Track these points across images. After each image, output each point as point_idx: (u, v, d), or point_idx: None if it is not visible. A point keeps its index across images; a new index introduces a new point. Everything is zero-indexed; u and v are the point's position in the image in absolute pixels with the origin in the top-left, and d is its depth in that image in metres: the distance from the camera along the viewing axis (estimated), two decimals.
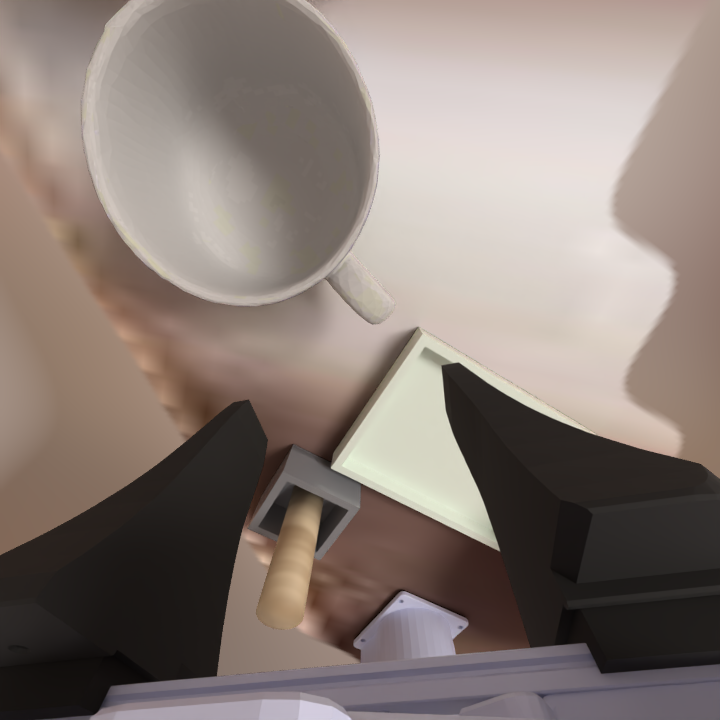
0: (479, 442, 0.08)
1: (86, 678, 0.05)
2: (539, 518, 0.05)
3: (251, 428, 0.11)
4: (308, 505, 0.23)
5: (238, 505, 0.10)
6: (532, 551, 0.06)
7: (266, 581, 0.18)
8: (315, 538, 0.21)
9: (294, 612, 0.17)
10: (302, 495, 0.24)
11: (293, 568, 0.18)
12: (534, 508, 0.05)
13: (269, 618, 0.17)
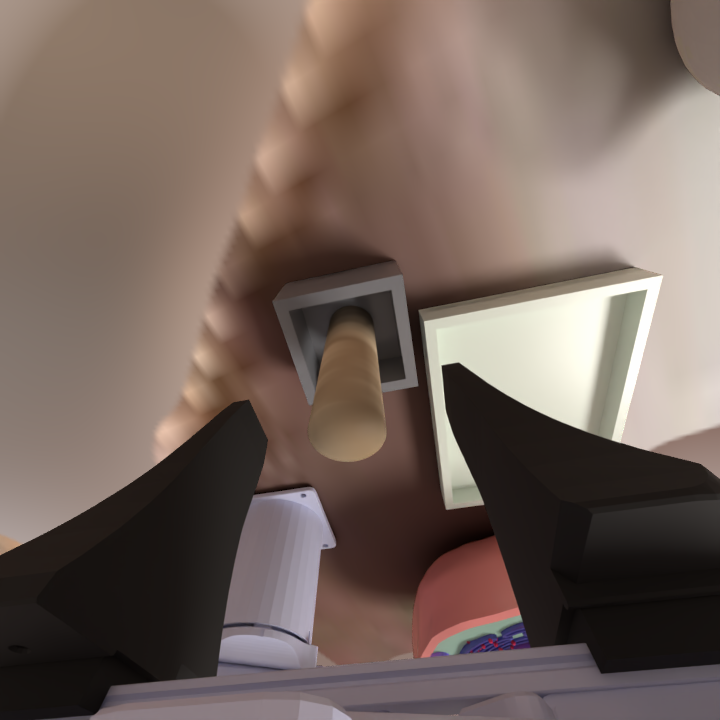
0: (479, 442, 0.08)
1: (85, 678, 0.05)
2: (539, 518, 0.05)
3: (251, 428, 0.11)
4: (374, 338, 0.16)
5: (238, 505, 0.10)
6: (532, 551, 0.06)
7: (344, 380, 0.11)
8: None
9: (368, 443, 0.11)
10: (367, 322, 0.16)
11: (380, 391, 0.12)
12: (534, 508, 0.05)
13: (326, 428, 0.10)
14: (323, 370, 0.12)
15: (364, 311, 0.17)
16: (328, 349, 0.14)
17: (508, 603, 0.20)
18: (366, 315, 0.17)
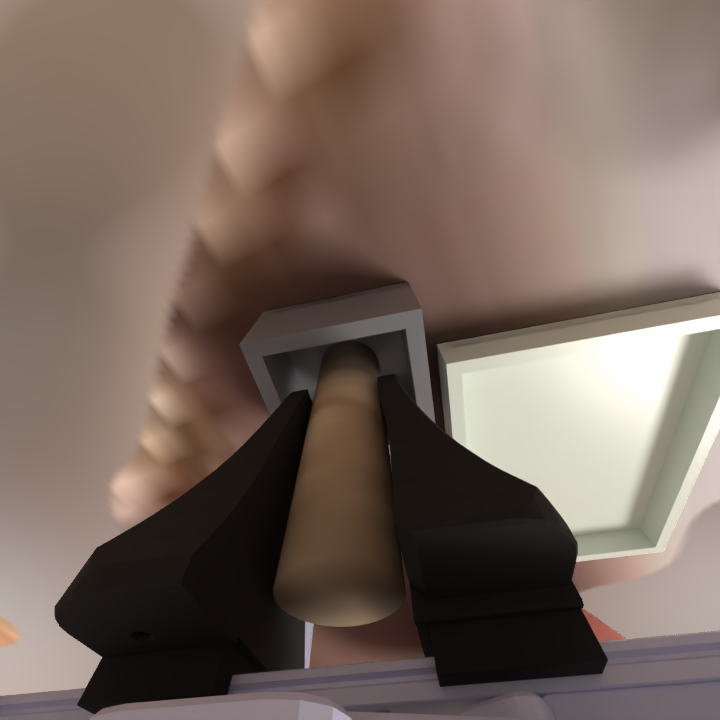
0: None
1: (213, 666, 0.05)
2: None
3: None
4: None
5: None
6: None
7: (335, 499, 0.07)
8: None
9: (375, 606, 0.06)
10: (371, 367, 0.12)
11: (393, 503, 0.07)
12: None
13: (304, 591, 0.06)
14: (305, 462, 0.08)
15: (367, 348, 0.13)
16: (315, 418, 0.10)
17: None
18: (369, 354, 0.13)
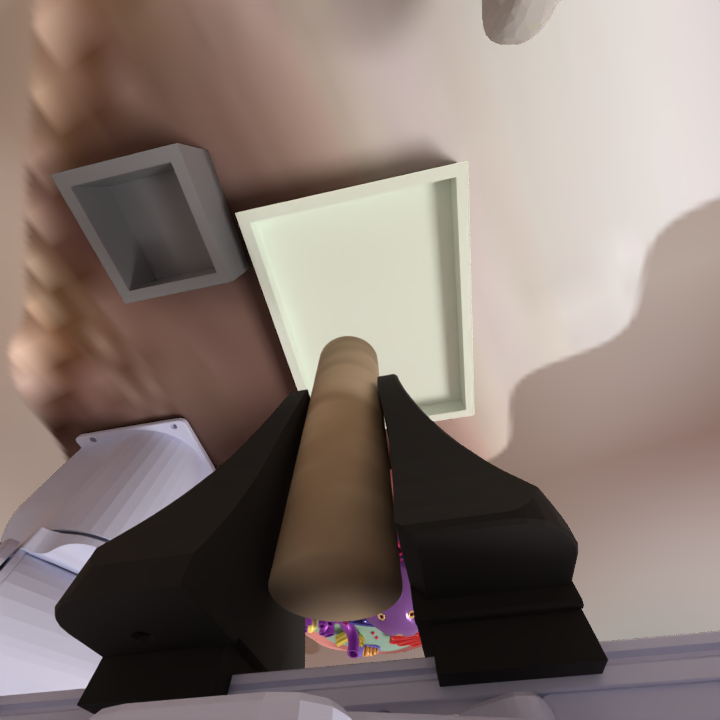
0: None
1: (213, 666, 0.05)
2: None
3: None
4: None
5: None
6: None
7: (325, 492, 0.07)
8: None
9: (373, 599, 0.06)
10: (367, 360, 0.12)
11: (388, 493, 0.07)
12: None
13: (299, 586, 0.06)
14: (299, 458, 0.08)
15: (362, 342, 0.13)
16: (310, 415, 0.09)
17: None
18: (365, 348, 0.13)
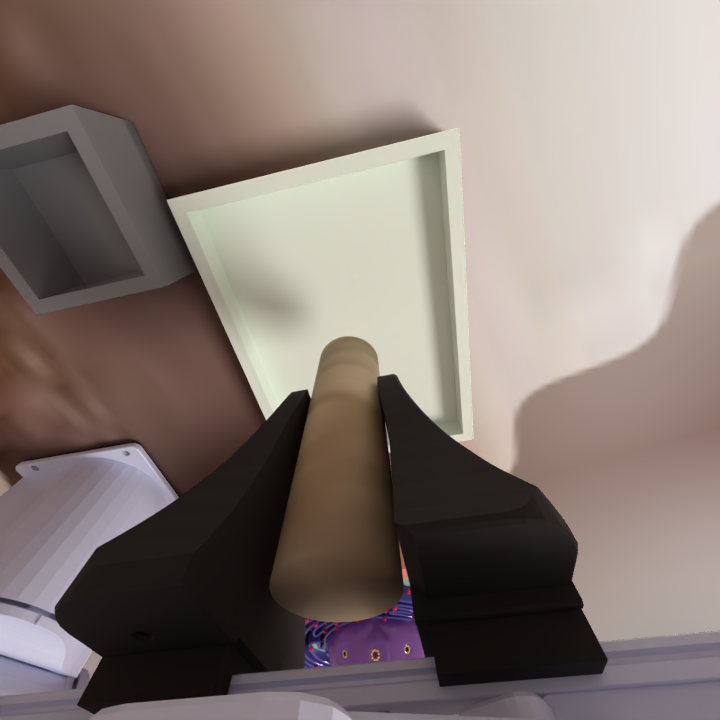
0: None
1: (213, 666, 0.05)
2: None
3: None
4: None
5: None
6: None
7: (327, 493, 0.07)
8: None
9: (375, 599, 0.06)
10: (367, 360, 0.12)
11: (389, 494, 0.07)
12: None
13: (300, 587, 0.06)
14: (300, 459, 0.08)
15: (363, 342, 0.13)
16: (311, 415, 0.09)
17: None
18: (366, 348, 0.13)
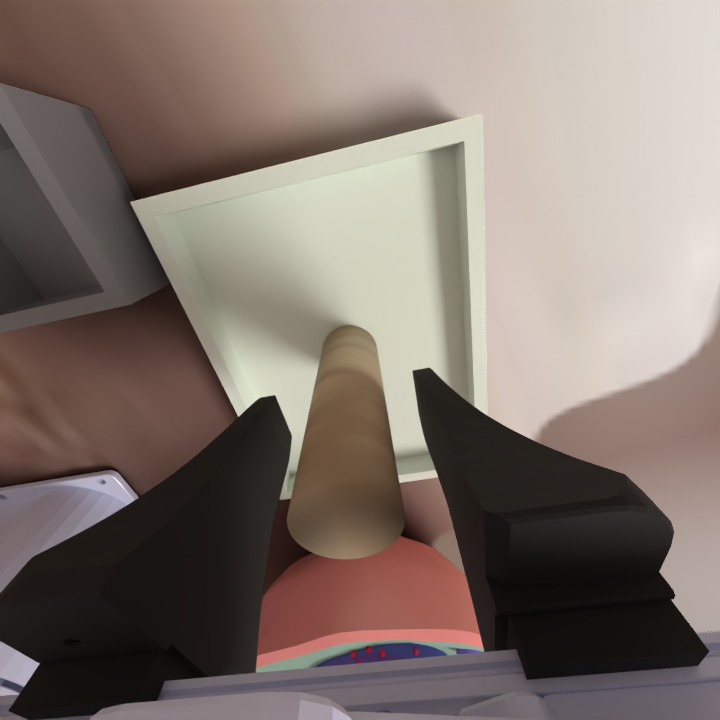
0: (440, 448, 0.08)
1: (142, 672, 0.05)
2: (476, 526, 0.05)
3: (278, 423, 0.11)
4: (378, 364, 0.12)
5: (268, 501, 0.10)
6: (475, 558, 0.06)
7: (336, 441, 0.07)
8: None
9: (379, 533, 0.07)
10: (367, 345, 0.13)
11: (390, 447, 0.08)
12: (472, 516, 0.05)
13: (314, 520, 0.07)
14: (310, 422, 0.09)
15: (363, 331, 0.14)
16: (317, 388, 0.10)
17: (316, 630, 0.14)
18: (365, 335, 0.14)
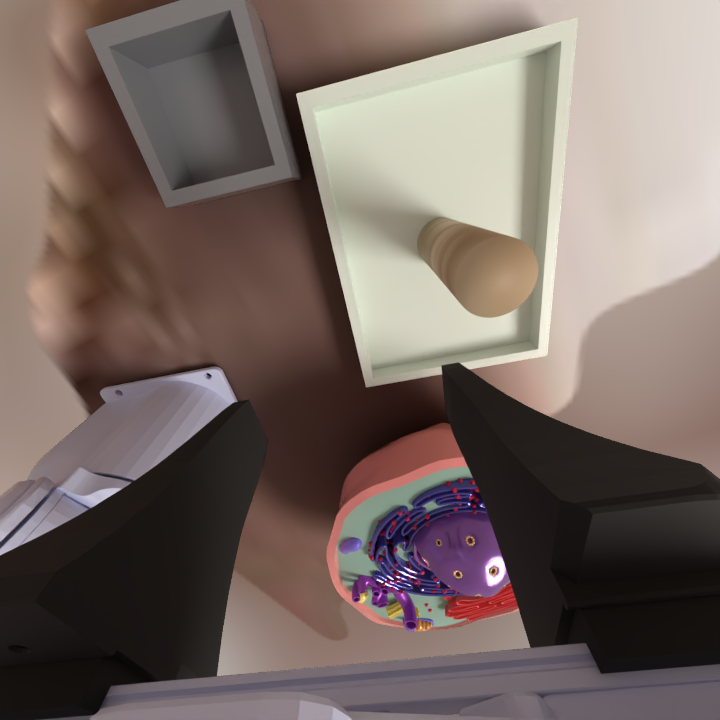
0: (479, 442, 0.08)
1: (86, 679, 0.05)
2: (539, 518, 0.05)
3: (251, 428, 0.11)
4: None
5: (238, 505, 0.10)
6: (532, 551, 0.06)
7: (483, 233, 0.11)
8: None
9: (516, 290, 0.10)
10: None
11: None
12: (534, 508, 0.05)
13: (475, 275, 0.10)
14: (447, 243, 0.12)
15: None
16: (440, 236, 0.14)
17: (417, 465, 0.17)
18: None
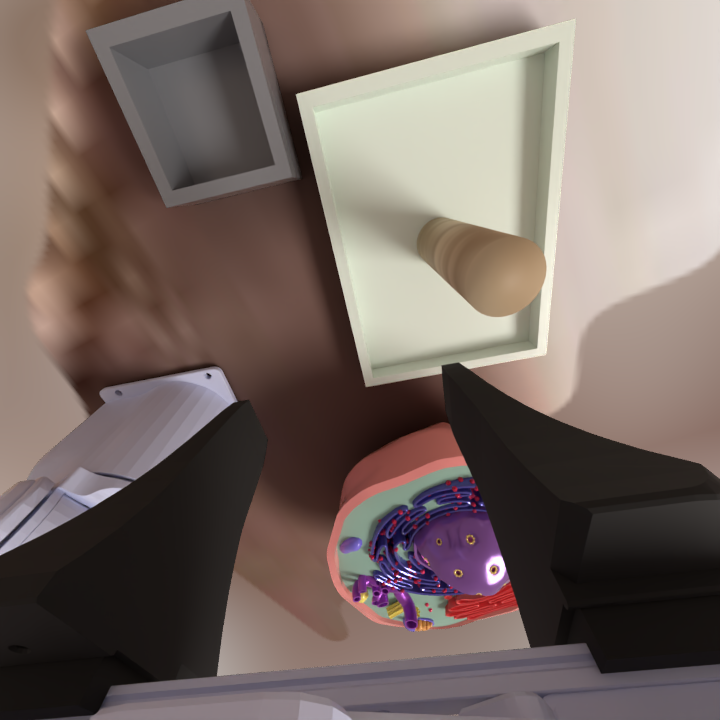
0: (479, 442, 0.08)
1: (85, 678, 0.05)
2: (539, 518, 0.05)
3: (251, 428, 0.11)
4: None
5: (238, 505, 0.10)
6: (532, 551, 0.06)
7: (490, 233, 0.11)
8: None
9: (525, 289, 0.10)
10: None
11: None
12: (534, 508, 0.05)
13: (484, 275, 0.10)
14: (452, 244, 0.12)
15: None
16: (443, 236, 0.14)
17: (418, 464, 0.17)
18: None
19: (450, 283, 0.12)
